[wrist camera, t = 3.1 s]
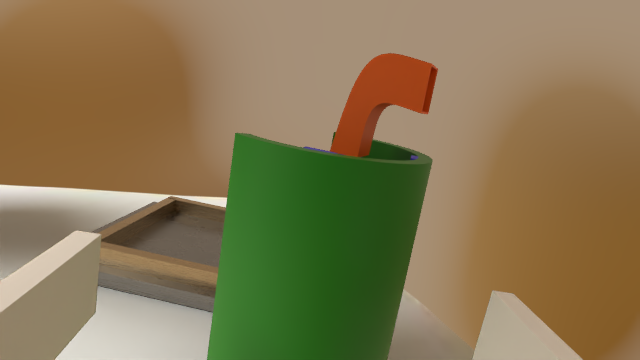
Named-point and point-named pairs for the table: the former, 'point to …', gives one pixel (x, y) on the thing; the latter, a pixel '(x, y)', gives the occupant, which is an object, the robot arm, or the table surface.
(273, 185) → the green cylindrical holder
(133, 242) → the plate
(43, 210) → the table surface
